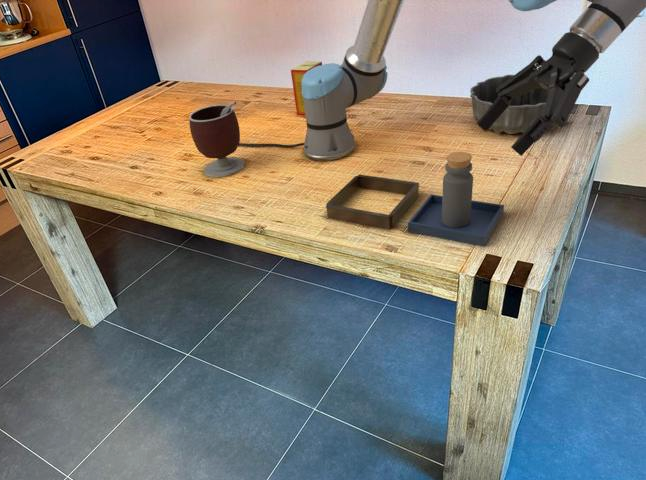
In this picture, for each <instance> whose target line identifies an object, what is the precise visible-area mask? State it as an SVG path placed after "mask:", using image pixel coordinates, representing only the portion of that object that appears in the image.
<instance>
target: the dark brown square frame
mask: <svg viewBox="0 0 646 480" xmlns="http://www.w3.org/2000/svg"><path fill="white" fill-rule="evenodd" d="M360 188H361V189H365V190H366V189H367V190H373V191H379V192H380V191H381V192H386V193H394V194H399V195H404V197H403V198H402V199H401V200H400V201H399V203H397V205H396V206H395V207H394V208H392V211H390V213H388V214H385V213H381V212H374V211H370V210H364V209H359V208H358V209H357V208H352V207H346V206H343V205H344V204H345V203H346V202H347V201H348V200H349V199H350V198H351V197H352V196H353V195H354V194H355V193H356V192H357V191H358V190H359V189H360ZM419 196H420V182H417V181H411V180H410V181H409V180H401V179H395V178H389V177H380V176H375V175H374V176H373V175H367V174H358V175H355V176H354V177H353V178H351V180H350V181H348V182H347V184H345V185H344V186H343V187H342V188H341V189H340V190H339V191H338V192H337V193H336V194H335V195H334V196H332V198H330V199H329V200H328V201H327V202H326V205H325V209H326V215H327V219H333V220H338V221H343V222H348V223H354V224H359V225H362V226H363V225H364V226H369V227H373V228H380V229H384V230H391V229H394V227H395V226H396V225H397V224H398V222H400V220H401V219H402V218H403V216H404V215H405V214H406V213H407V211H409V209H410V208H412V206H413V205H414V203H415V202H416V201H417V200H418V199H419Z"/></svg>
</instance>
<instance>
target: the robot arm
mask: <svg viewBox="0 0 646 480" xmlns="http://www.w3.org/2000/svg"><path fill="white" fill-rule="evenodd" d="M556 1H557V0H508V2H509V3H510V4H511V6H512V7H513V8H514V9H515V10H517V11H520V12H530V11H531V12H532V11H535V10H540V9H543V8H545V7H547V6H549V5H550V4H553V3H554V2H556ZM586 1H587V2H589V3H591V4H589V5H588V6H587V7H586V8H585V10H584V11H583V12H582V13H581V15H579V16H578V18H577V19H576V20H575V21H574V22H573V23H572V24H571V26H570V27H569V30H568V32H564V34H563V35H562V36H561V37H560V39H558V41H556V43H555V44H554V45H553V47H551V52H552V54H551V56H550V57H549V58H548V59H547V60H545V59H544V58H543V56H542V55H539V54H538V55H537V56H535V57H534V58H533V60H532V61H531V62H530V63H529V64H527V65H526V66H525V67H523V68H521V70H519V71H518V72H517V73H515V74H513V75H514V76H512V77H511V78H510V79H508V80H507V81H506V82H504V83H503V84H502V85H500V86H499V87H498V88H497V89H496V91H497V92H498V98H497V99H496V100H495V102H494V103H493V104H492V105H491V106H490V107H489V109H488V111H487V112H486V113H485V114H484V115H483V116H482V117H481V119H480V120H479V121H478V122H476V125H477V126H478V127H479V128H481V129H482V130H483V131H484V132H487V131H488V130H489V128H490V127H491V125H492V124H493V123H494V122H495V121H496V120H497V119H498V118H499V116H500V115H501V114H502V113H503V112H504V111H505V110H506V108H507V107H508V106H509V105H510V101H512V100H514V99H516V98H518V97H520V96H522V95H524V94H526V93H528V92H530V91H532V90H534V89H536V88H538V89H539V88H544V89H548V90H549V94H548V98H547V101H546V105H545V109H544V113H543V115H542V116H540V118H541V119H542V120H543V121H541V120H540V119H539V118H537V119H536V120H535V121H534V123H533V124H532V125H531V126H530V127H529V128H528V129H527V130H526V131H525V132H524V133H521V135H520V136H519V138H518V139H517V140H516V141H515V142H514V143H513V144H512V145H511V146H510V148H511V149H512V150H513V151H514V152H515V153H517V154H518V155H519V156H521V157H523V155H525V153H526V152H527V151H528V150H529V149H530V148H531V147H532V146H533V145H534V144H535V142H538V141H539V140H540V139H541V138H542V137H543V136H544V135H545V134H546V133H547V132H548V131H549V130H550V129H551V128H554V127H557V128H559V129H562V128H563V127H565V126H566V123H567V121H568V119H569V117H570V115H571V113H572V111H573V109H574V107H575V105H576V103H577V101H578V99H579V97H580V95H581V92H582V91H583V89H585V87H586V86H587V85H588V83H589V82H590V78H589V77H588V76H587V74H586V72H587V71H588V70H589V69H590V68H592V66H593V65H594V64H595V63H596V62H597V60H599V58H600V54H603V53H605V52H606V51H607V50H608V48H610V46H611V45H612V44H613V43H614V42H615V41H616V40H617V39H618V37H620V35H621V34H622V33H623V32H624V31H625V30H626V29H627V28H628V27H629V26H630V25H631V23H633V22H634V20H636V18H637V17H638V16H639V15H640V14H641V13H642V12H644V10H646V0H586ZM404 2H405V0H367V3H366V6H365V9H364V12H363V15H362V19H361V22H360V24H359V29H358V31H357V35H356V38H355V41H354V43H353V45H352V46H349V47H348V48H347V50H346V51H345V54H344V58H343V60H342V63H341V64H339V63H333V62H331V63H324V64H322V66H317V67H314V68H312V69H310V70H309V71H307V72H306V73H305V74H304V76H303V78H302V96H303V101H304V108H305V116H304V117H305V123H306V131H305V132H306V133H305V137H304V142H300V143H299V142H298V143H295V144H280V143H247V142H246V143H244V142H239V145H238V146H243V147H277V148H278V147H279V148H290V149H291V148H297V147H302V146H303V153H304V156H305V158H307V159H309V160H311V161H318V162H329V161H330V162H331V161H336V160H339V159H342V158H345V157H348V156H349V155H351V154H352V153H353V152H354V151H356V140H355V135H354V134H353V133H352V130H351V129H350V126H349V124H348V120H347V119H348V118H347V117H348V116H347V109H349V108H351V107H353V106H355V105H358V104H359V103H362V102H364V101H367V100H370V99H373V97H375V96H376V95H378V94H379V93H380V92H382V90H383V89H384V88H385V86H386V84H387V81H388V74H389V73H388V72H387V69H388V66H387V61H386V57H385V56H384V55H385V52H386V49H387V47H388V44H389V42H390V39H391V36H392V34H393V31H394V28H395V26H396V23H397V20H398V18H399V15H400V13H401V11H402V7H403V5H404ZM537 77H538V78H537ZM504 89H505V90H504ZM508 95H509V96H508ZM560 116H561V117H560Z"/></svg>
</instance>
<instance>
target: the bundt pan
mask: <svg viewBox="0 0 646 480" xmlns="http://www.w3.org/2000/svg"><path fill="white" fill-rule="evenodd" d="M514 75H515V74H506V75H505V74H504V75H503V76H494V77H489V78H487V79H485V80H484V81H478V82H477V83H476V84H475V85H473V86H472V87H471V88H470V90H469V91H470V95H469V96H470V98H471V105H472V116H473V120H474V121H475V122H476V123H477V122H478V121H479V120H480V119H481V117H482V116H483V115H484V114H485V113H486V112H487V111H488V109H489V107H490V106H491V105H492V104H493V103H494V102H495V100H496V99H497V98H498V92H497V91H496V89H497V88H498V87H499V86H500V85H502V84H503V83H504V82H506V81H507V80H508V79H510V78H511V77H512V76H514ZM537 78H538V77H537ZM504 90H505V89H504ZM548 94H549V90H548V89H544V88H539V89H538V88H536V89H534V90H532V91H530V92H528V93H526V94H524V95H522V96H520V97H518V98H516V99H514V100H512V101H510V105H509V106H508V107H507V108H506V110H505V111H504V112H503V113H502V114H501V115H500V116H499V118H498V119H497V120H496V121H495V122H494V123H493V124H492V125H491V127H490V128H489V129H488V130H492V131H494V133H496V134H500V133H503V132H504V133H506V134H509V135H514V134H518V133H521V134H523V133H524V132H525V131H526V130H527V129H528V128H529V127H530V126H531V125H532V124H533V123H534V121H535V120H536V119H537V118H539V119H540V120H541V121H543V120H542V119H541V118H540V116H542V115H543V113H544V109H545V105H546V101H547V98H548ZM508 96H509V95H508ZM560 117H561V116H560Z"/></svg>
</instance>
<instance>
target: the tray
mask: <svg viewBox="0 0 646 480" xmlns="http://www.w3.org/2000/svg"><path fill="white" fill-rule="evenodd" d="M442 196H443V195H438V194H433V193H431V194H430V195H429V196H428V197H427V198H426V199H425V201H424V202H423V203H422V204H421V206H420V207H419V208H418V209H417V211H415V213H414V214H413V216H411V218H410V219H409V220H408V222H407V232H409V233H413V234H419V235H425V236H429V237H433V238H434V237H435V238H440V239H444V240H450V241H455V242H461V243H466V244H471V245H477V246H481V247H485V246H486V245H487V243H488V241H489V240H490V238H491V236H492V234H493V233H494V231H495V229H496V228H497V226H498V224H499V222H500V221H501V219H502V217H503V216H504V210H505V204H499V203H492V202H487V201H479V200H474V199H472V203H471V216H470V222H469V224H468V225H466V226H464V227H459V228H452V227H448V226H446V225H444V224H443V223H442Z"/></svg>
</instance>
